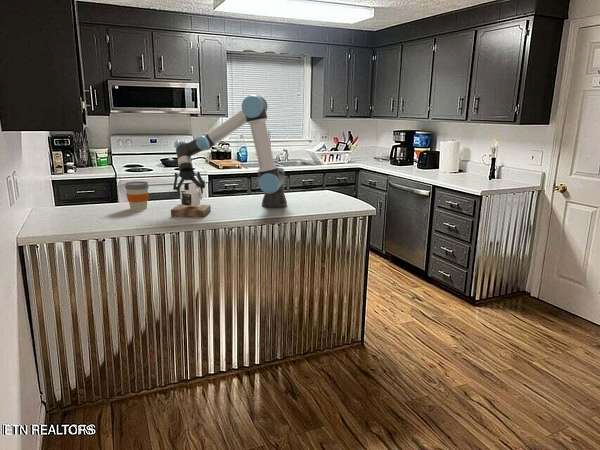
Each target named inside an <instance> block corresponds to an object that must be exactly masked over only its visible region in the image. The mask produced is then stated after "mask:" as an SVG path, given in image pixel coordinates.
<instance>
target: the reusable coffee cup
mask: <svg viewBox="0 0 600 450" xmlns="http://www.w3.org/2000/svg"><path fill="white" fill-rule="evenodd" d="M124 185H125V191H126V193H125V195H126V198H127V202H128V204H129V209H130V210H131V211H135V210H138V211H143V210H144V211H145V210H147V208H148V201H149V189H150V187H149V183H148V182H147V181H138V180H137V181H127V182H126V183H125V184H124Z"/></svg>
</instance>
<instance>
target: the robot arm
mask: <svg viewBox="0 0 600 450" xmlns="http://www.w3.org/2000/svg"><path fill="white" fill-rule="evenodd" d="M267 111H268V103H267V100H266V99H265V98H264V97H262V96H261V95H257V94H251V95H247V96H246V97H244V99H243V100H242V103H241V109H240V111H238V112H236V114H234V115H232V116H231V117H230V118H228V119H227V120H226V121H224V122H223V123H221V124H219V125H218V126H216V128H214V129H213V130H211V131H210V132H209V133H207V134H205V135H201V136H198V137H197V138H195V139H193V140H191V141H188V142H186V141H184V140H183V141H179V142H177V143H176V144H175V152H176V157H177V163H178V170H179V173H177V172H175V173H174V180H173V188H172V189H173V191H176V192H177V195H178V196H180V197H179V199H180V202H182V192H183V191H182V188H181V187H182V186H183V185H184V182H185V181H191V183H195V184H196V188H198V192H200V201H201V200H203V194H204V189H205V188H206V184H205V181H204V179H203V178H202V175H201V173H200V171H197V172H195V171H194V166H193V162H192V156H194V155H197V154H198V153H200V152H204V151H207V150H211V149H212V148H213V147H214V146H215V145H217V144H218V143H220V142H221V141H222V140H224V139H225V138H227V137H228V136H230V135H231V134H232V133H234V132H236V131H237V130H239V129H240V128H241V127H243V126H245V125H246V124H248V125H249V126H250V131H251V136H252V140H253V144H254V148H255V153H256V158H257V162H258V167H259V168H258V170H257V174H258V187H259V189H260V190H261V191H262V192H263V193H264V194H263V198H262V201H261V206H262V207H264V208H271V209H279V208H285V207H287V206H288V202H287V197H286V195H285V170H284V169H285V168H283V167H278V166H277V165H276V164H275V161H274V157H273V152H272V147H271V142H270V138H269V134H268V128H267V123H266V122H267V120H268V116H267V115H268V114H267ZM179 177H180V180H179V182H178V178H179ZM177 183H178V184H177Z"/></svg>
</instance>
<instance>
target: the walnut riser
mask: <svg viewBox="0 0 600 450" xmlns="http://www.w3.org/2000/svg"><path fill="white" fill-rule="evenodd" d="M211 208H212V207H211V205H210V204H199V205H196V206H192V207H191V206H184V205H182V203H181V204H177V205H176V206H174V207H173V208H171V209H170V218H188V219H189V218H190V219H192V218H193V219H197V218H198V219H205V218H206V217H207V216H208V215H209V214H210V213H211V212H212V209H211Z"/></svg>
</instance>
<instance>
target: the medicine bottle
mask: <svg viewBox="0 0 600 450" xmlns="http://www.w3.org/2000/svg"><path fill="white" fill-rule="evenodd" d="M183 187H184V191H181V192H182V201H181V204H182V205H184V206H191V207H192V206H196V205H201V200H200V192H199V191H197V185H196V184H195V183H194V182H186V183H183Z"/></svg>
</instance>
